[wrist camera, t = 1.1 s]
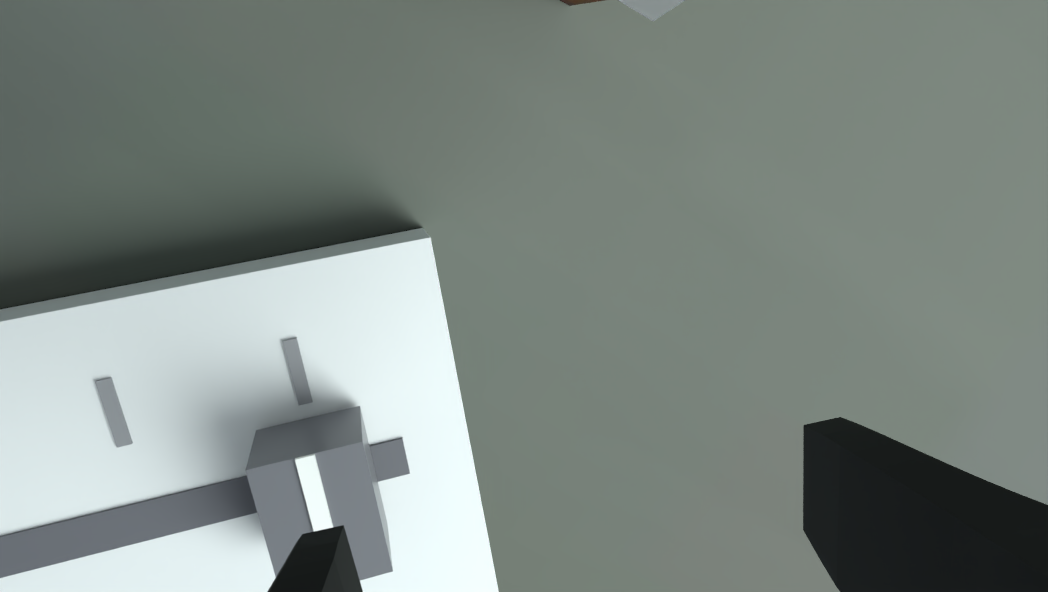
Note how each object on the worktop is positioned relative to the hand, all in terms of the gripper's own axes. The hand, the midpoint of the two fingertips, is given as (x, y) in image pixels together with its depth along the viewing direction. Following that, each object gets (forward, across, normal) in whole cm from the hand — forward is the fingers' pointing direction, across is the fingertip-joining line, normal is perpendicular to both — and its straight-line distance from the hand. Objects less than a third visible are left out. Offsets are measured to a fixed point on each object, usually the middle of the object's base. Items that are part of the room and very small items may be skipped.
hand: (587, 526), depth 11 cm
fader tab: (+11, +6, +5) cm, 13 cm away
